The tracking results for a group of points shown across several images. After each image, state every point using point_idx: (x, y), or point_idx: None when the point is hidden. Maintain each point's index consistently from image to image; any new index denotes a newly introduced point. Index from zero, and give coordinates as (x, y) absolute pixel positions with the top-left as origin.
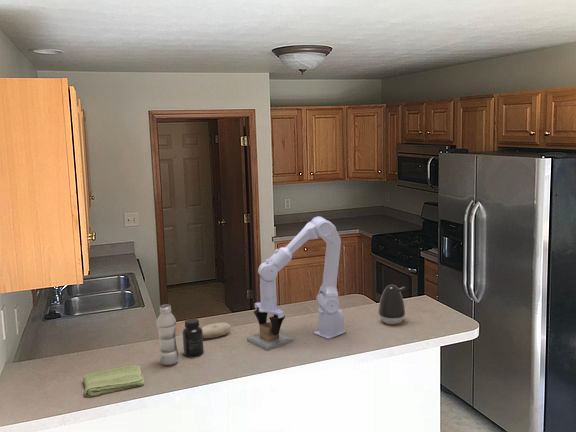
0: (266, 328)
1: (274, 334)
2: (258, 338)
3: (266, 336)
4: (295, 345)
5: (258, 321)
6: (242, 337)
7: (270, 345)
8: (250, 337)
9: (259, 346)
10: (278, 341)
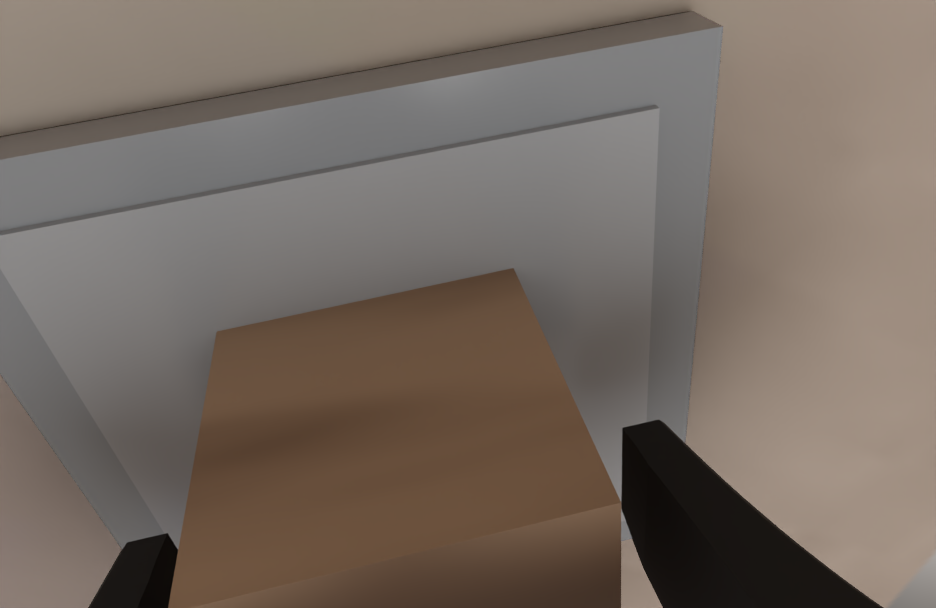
0: (246, 582)
1: (117, 563)
2: (512, 235)
3: (276, 389)
4: (12, 597)
5: (798, 559)
6: (904, 11)
7: (16, 302)
8: (693, 117)
9: (212, 101)
10: (151, 477)
